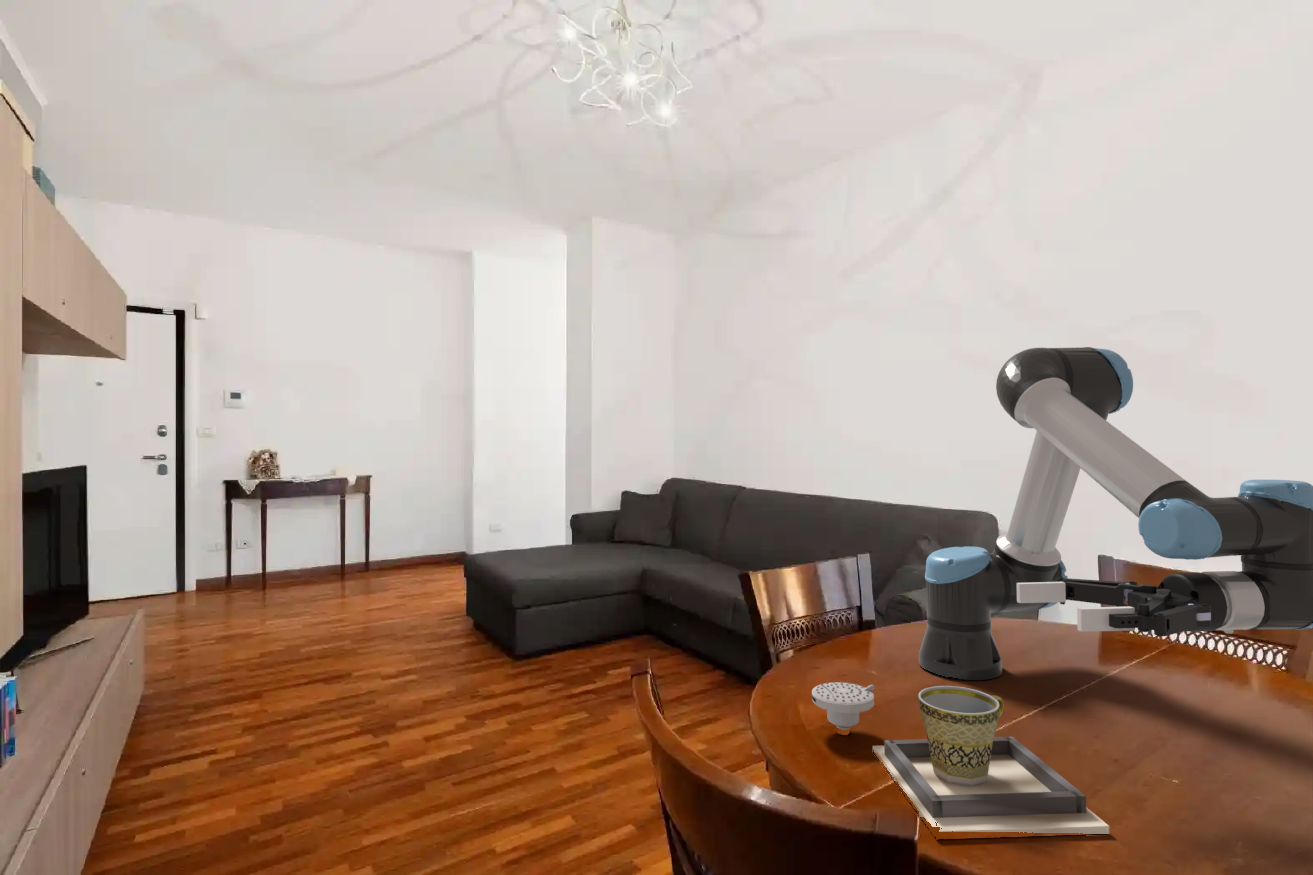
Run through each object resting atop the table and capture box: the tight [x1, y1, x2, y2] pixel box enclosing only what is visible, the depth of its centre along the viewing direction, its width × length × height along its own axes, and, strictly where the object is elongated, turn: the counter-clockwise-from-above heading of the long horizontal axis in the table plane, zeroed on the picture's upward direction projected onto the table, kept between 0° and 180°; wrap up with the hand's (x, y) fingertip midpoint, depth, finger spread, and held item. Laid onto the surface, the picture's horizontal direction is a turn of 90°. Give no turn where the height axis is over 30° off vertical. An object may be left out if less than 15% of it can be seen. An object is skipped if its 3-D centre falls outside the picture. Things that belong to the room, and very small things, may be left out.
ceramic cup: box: [917, 685, 1005, 786], centre depth 92 cm, size 13×10×10 cm
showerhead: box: [811, 681, 876, 730], centre depth 107 cm, size 9×7×10 cm
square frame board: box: [872, 736, 1110, 835], centre depth 89 cm, size 22×20×3 cm
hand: (1046, 605), depth 89 cm, fingers open, 13 cm apart
